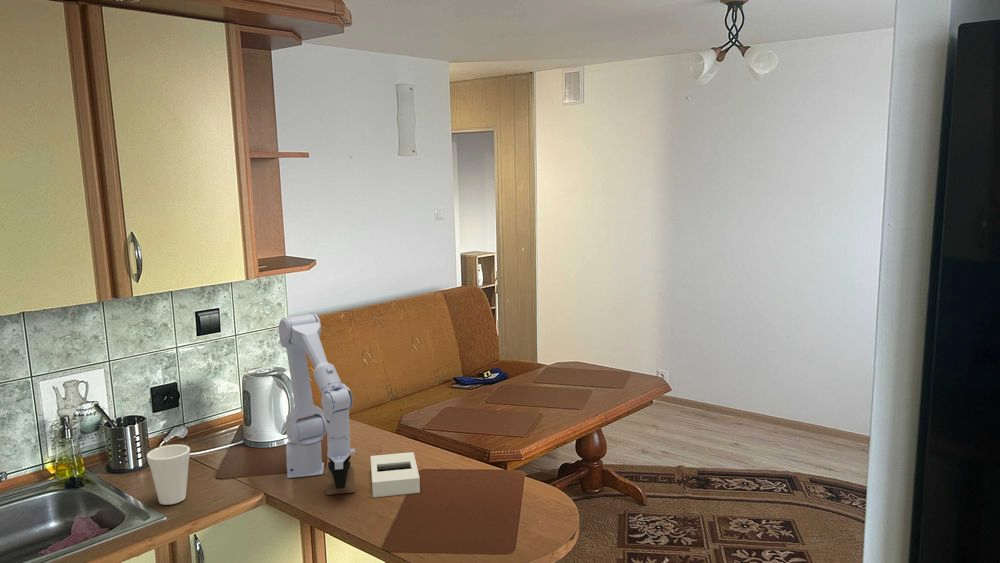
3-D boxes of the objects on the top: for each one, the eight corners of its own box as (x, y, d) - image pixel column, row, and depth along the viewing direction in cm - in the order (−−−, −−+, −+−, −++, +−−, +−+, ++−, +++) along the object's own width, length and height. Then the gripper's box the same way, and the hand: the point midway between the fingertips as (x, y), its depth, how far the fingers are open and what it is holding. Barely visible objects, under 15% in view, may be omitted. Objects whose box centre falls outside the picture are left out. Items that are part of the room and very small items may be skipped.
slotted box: (372, 497, 179) (372, 482, 178) (371, 469, 197) (370, 455, 196) (420, 492, 181) (419, 477, 181) (414, 465, 199) (413, 452, 198)
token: (326, 494, 180) (325, 472, 179) (327, 489, 183) (326, 467, 182) (354, 492, 182) (353, 470, 181) (354, 487, 184) (353, 465, 184)
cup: (167, 512, 172) (163, 462, 170) (141, 504, 177) (137, 454, 175) (202, 496, 181) (198, 448, 179) (177, 489, 185) (173, 441, 184)
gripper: (354, 443, 174) (356, 495, 176) (354, 424, 188) (356, 472, 190) (325, 446, 172) (327, 498, 174) (327, 426, 187) (329, 474, 188)
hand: (340, 485), depth 182 cm, fingers closed on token, 3 cm apart
